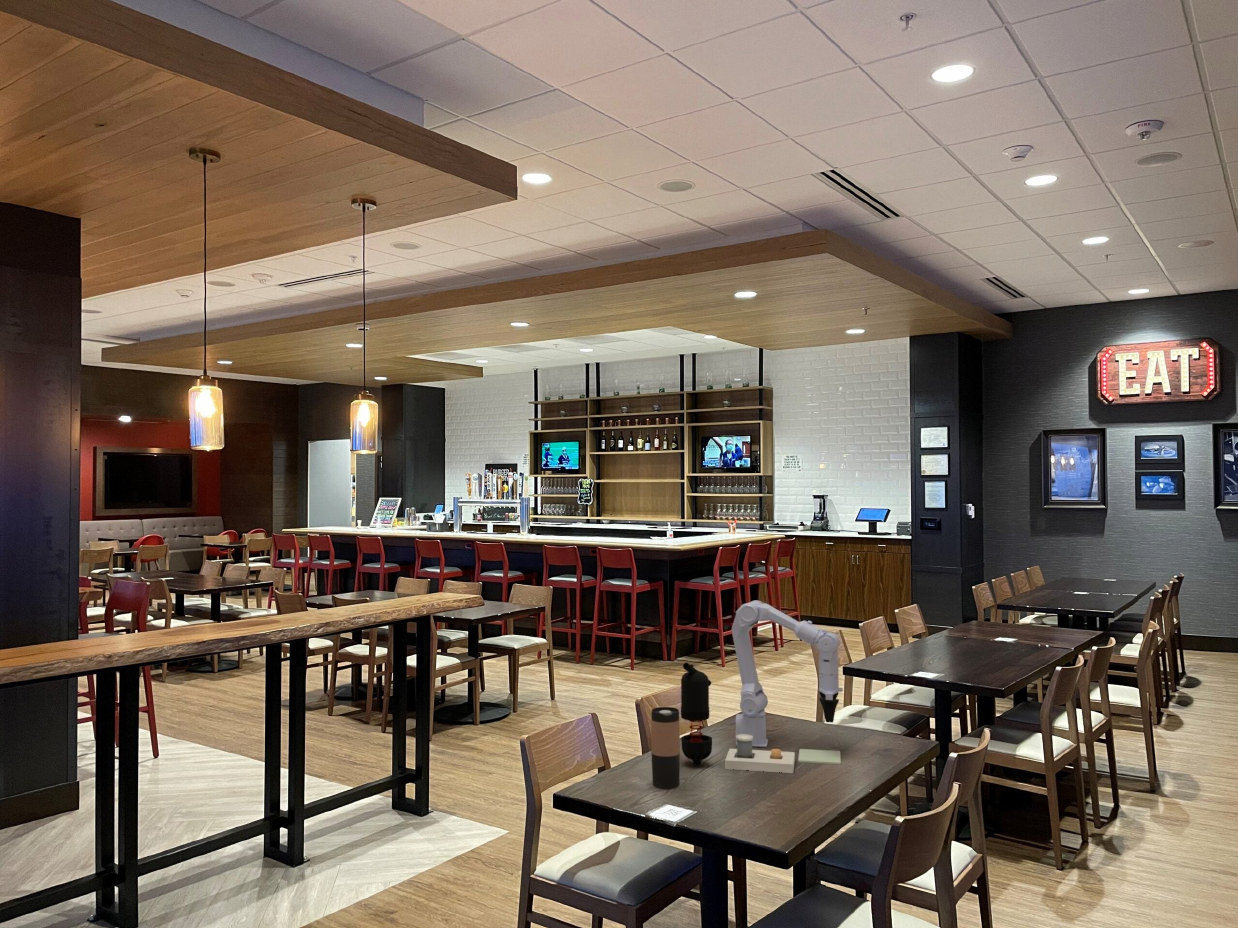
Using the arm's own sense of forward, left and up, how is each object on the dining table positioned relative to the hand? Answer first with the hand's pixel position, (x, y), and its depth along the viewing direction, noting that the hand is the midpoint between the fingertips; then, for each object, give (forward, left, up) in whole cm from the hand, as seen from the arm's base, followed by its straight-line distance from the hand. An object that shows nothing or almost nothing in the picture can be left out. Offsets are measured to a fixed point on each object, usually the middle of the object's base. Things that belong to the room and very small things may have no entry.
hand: (829, 718), depth 272 cm
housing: (-19, -17, -10) cm, 27 cm away
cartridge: (-24, -17, -10) cm, 31 cm away
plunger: (-15, -17, -8) cm, 24 cm away
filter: (-37, -19, -10) cm, 43 cm away
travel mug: (-43, -40, -10) cm, 59 cm away
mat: (-3, -6, -10) cm, 12 cm away
